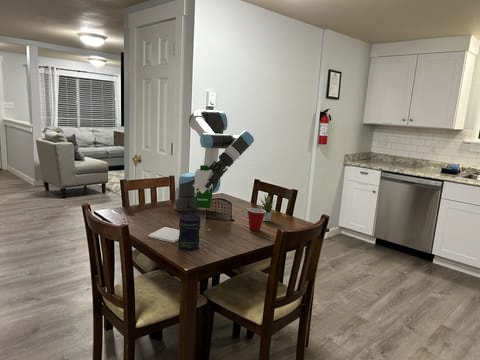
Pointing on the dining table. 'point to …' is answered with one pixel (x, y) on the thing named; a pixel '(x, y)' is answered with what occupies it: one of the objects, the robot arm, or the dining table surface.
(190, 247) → the storage jar
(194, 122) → the robot arm
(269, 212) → the house plant
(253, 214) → the plastic cup
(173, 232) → the plate
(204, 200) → the soya milk
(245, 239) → the dining table surface
